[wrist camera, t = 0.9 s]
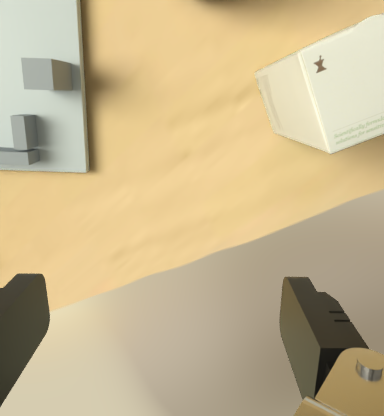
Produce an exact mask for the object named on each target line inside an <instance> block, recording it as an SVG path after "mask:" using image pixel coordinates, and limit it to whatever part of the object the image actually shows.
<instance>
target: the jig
mask: <svg viewBox="0 0 384 416" xmlns="http://www.w3.org/2000/svg"><path fill="white" fill-rule="evenodd" d="M0 170H24V171H54V172H84V173H86V172H88V171H89V170H90V169H89V150H88V132H87V114H86V96H85V78H84V60H83V41H82V23H81V5H80V0H0Z"/></svg>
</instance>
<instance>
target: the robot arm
mask: <svg viewBox="0 0 384 416" xmlns="http://www.w3.org/2000/svg"><path fill="white" fill-rule="evenodd" d="M49 321H50V313H49V306H48V298H47V291H46V284H45V278H44V276H43V275H42V274H17V275H16V276H15V277H14V278H13V279H12V280H11V281H10V282H9V283H8V284H7V285H6V286H5V287H4V288H0V407H1V405H2V403H3V402H4V400H5V399H6V397H7V395H8V394H9V392H10V390H11V389H12V387H13V386H14V384H15V383H16V381H17V379H18V378H19V376H20V375H21V373H22V371H23V370H24V368H25V367H26V365H27V363H28V362H29V360H30V359H31V357H32V355H33V354H34V352H35V350H36V349H37V347H38V346H39V344H40V342H41V341H42V339H43V338H44V336H45V335H46V333H47V330H48V326H49ZM280 332H281V337H282V340H283V343H284V346H285V349H286V352H287V355H288V358H289V361H290V363H291V367H292V370H293V372H294V375H295V378H296V381H297V384H298V387H299V390H300V393H301V396H302V399H303V402H302V403H301V405H300V406H299V408H298V409H297V411H296V413H295V415H294V416H384V355H383V354H381V353H378V352H376V351H373V350H370V349H369V348H368V346H367V345H366V343H365V342H364V340H363V339H362V337H361V336H360V334H359V333H358V331H357V330H356V328H355V327H354V325H353V324H352V322H350V319H349V318H348V316H347V315H346V314H345V313H344V310H343V309H342V307H341V306H340V304H339V303H338V301H337V300H335V299H334V298H333V297H331V296H330V295H328V294H327V293H326V292H317V291H316V289H315V288H314V286H313V284H312V282H311V281H310V279H309V278H308V277H285V278H284V280H283V286H282V298H281V310H280Z"/></svg>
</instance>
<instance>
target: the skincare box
mask: <svg viewBox="0 0 384 416" xmlns="http://www.w3.org/2000/svg"><path fill="white" fill-rule="evenodd" d="M255 78H256V81H257V85H258V88H259V91H260V94H261V97H262V100H263V103H264V106H265V109H266V112H267V115H268V118H269V121H270V124H271V127H272V130H273V132H274V133H275V134H278V135H281V136H284V137H286V138H289V139H292V140H295V141H297V142H300V143H303V144H306V145H308V146H311V147H314V148H316V149H320V150H322V151H325V152H327V153H330V154H333V153H335V152H338V151H340V150H343V149H346V148H349V147H351V146H354V145H357V144H359V143H362V142H365V141H367V140H370V139H372V138H375V137H378V136H380V135H383V134H384V13H382V14H379V15H374V16H371V17H368V18H366V19H365V20H363V21H362V22H359V23H357V24H355V25H352V26H350V27H347V28H345V29H343V30H340V31H338V32H336V33H334V34H331V35H329V36H327V37H325V38H323V39H321V40H319V41H317V42H315V43H313V44H311V45H308V46H306V47H304V48H302V49H300V50H298V51H296V52H294V53H292V54H290V55H288V56H286V57H284V58H282V59H280V60H278V61H276V62H274V63H272V64H270V65H268V66H266V67H264V68H262V69H260V70H258V71H256V72H255Z"/></svg>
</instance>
